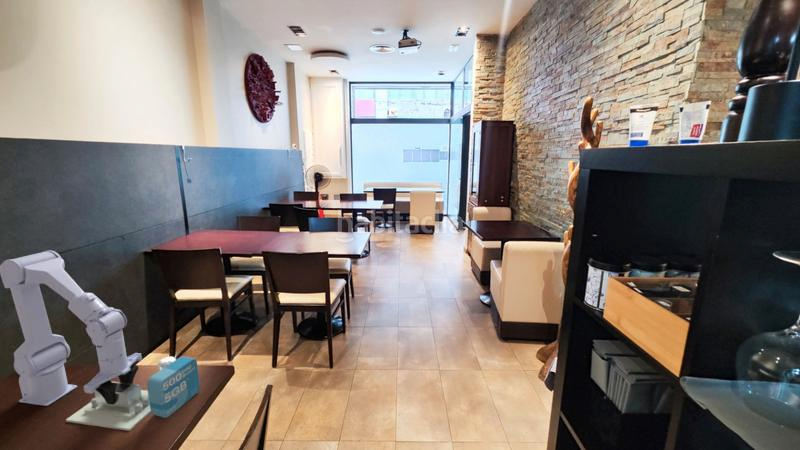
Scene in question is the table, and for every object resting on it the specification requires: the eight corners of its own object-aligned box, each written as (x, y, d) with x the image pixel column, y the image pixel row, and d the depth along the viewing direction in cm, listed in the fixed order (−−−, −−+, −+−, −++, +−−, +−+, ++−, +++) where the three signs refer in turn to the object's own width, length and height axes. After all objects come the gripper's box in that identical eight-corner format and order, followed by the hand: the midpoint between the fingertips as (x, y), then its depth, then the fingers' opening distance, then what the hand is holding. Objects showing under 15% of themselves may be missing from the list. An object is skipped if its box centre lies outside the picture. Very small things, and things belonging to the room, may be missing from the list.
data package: (164, 421, 88) (159, 383, 85) (151, 417, 89) (145, 379, 86) (200, 390, 99) (196, 356, 97) (188, 387, 100) (184, 353, 98)
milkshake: (184, 381, 103) (181, 353, 101) (165, 391, 98) (161, 362, 96) (176, 376, 105) (173, 349, 103) (158, 385, 101) (154, 357, 99)
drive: (97, 408, 90) (94, 390, 89) (111, 398, 94) (108, 380, 93) (129, 413, 89) (126, 394, 88) (142, 402, 93) (139, 384, 92)
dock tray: (66, 421, 86) (64, 412, 86) (113, 387, 99) (112, 379, 98) (129, 430, 84) (128, 421, 84) (169, 395, 97) (168, 387, 97)
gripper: (98, 373, 81) (106, 419, 84) (148, 341, 95) (154, 381, 98) (73, 370, 81) (82, 415, 84) (127, 338, 95) (133, 378, 98)
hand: (119, 397), depth 91 cm, fingers closed on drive, 4 cm apart
